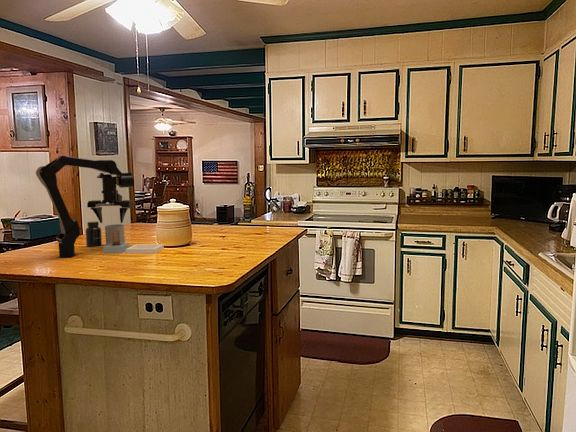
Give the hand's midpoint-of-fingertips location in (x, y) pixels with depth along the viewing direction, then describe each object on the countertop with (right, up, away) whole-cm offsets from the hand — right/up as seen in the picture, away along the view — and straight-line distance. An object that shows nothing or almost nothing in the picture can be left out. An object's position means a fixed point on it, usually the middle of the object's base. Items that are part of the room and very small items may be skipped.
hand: (111, 222), depth 196 cm
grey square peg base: (+3, -13, -2) cm, 14 cm away
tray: (+16, -13, -2) cm, 20 cm away
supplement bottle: (-13, -12, +12) cm, 21 cm away
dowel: (+3, -13, -2) cm, 13 cm away
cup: (-3, -12, +12) cm, 17 cm away
